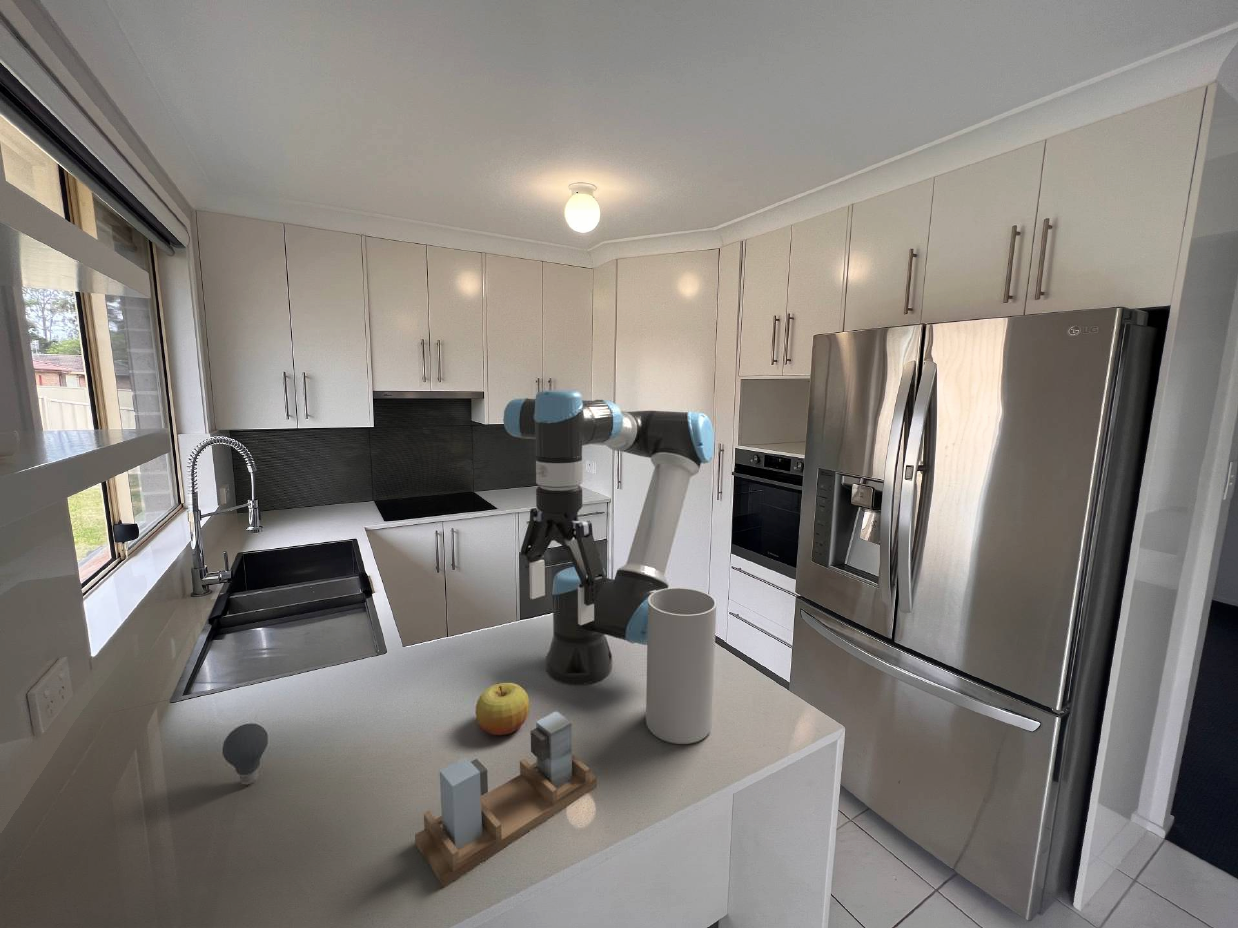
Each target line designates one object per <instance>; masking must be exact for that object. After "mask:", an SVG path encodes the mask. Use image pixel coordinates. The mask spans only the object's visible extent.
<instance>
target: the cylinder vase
mask: <svg viewBox="0 0 1238 928" xmlns="http://www.w3.org/2000/svg"><path fill="white" fill-rule="evenodd" d="M716 625H717V600H716V599H715V597H714V596H712V595H711V594H709V593H707V592H704V591H701V590H698V589H693V588H689V587H668V588H667V589H662V590H658V591H656V592H654V593H652V594H651V595H650V596H649V598H648V629H647V645H646V688H645V689H646V692H645V694H646V697H645V698H646V699H645V700H646V701H645V702H646V703H645V706H646V707H645V708H646V709H645V722H646V726H647V728H648V730H650V732H651V734H653V735H654V736H655V737H657V738H658V739H660V740H662V741H665V742H666V743H669V744H670V743H671V744H676V745H688V744H690V745H691V744H694V743H697V742H700V741H702V740H703V739H705V738H706V737H707V736H708V735H709V734H710V733H711V730H712V725H713V703H714V702H713V700H714V678H715V677H714V675H715V653H716V652H715V651H716V650H715V649H716V628H717V627H716Z"/></svg>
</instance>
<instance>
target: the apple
mask: <svg viewBox="0 0 1238 928" xmlns="http://www.w3.org/2000/svg"><path fill="white" fill-rule="evenodd" d="M529 713H530V699H529V695H528V693H527V692H526V690H525V689H524V688H523V687H521V686H520V684H517V683H514V682H501V683H497V684H494V685H491V686H489V687H488V688H485V690H484V691H483V692H482V693H481V694H480V696H479V698H478V700H477V702H476V705H475V718H476V721H477V723H478V725H479V726H480V729H482V730H484V731H485V732H486V733H488V734H489V735H495V736H505V735H509V734H512V733H513V732H515V731H517V730H519V729H520V728H521V727H522V726H523V725H524V723H525V722H526V720H527V718H528V715H529Z"/></svg>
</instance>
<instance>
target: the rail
mask: <svg viewBox="0 0 1238 928" xmlns="http://www.w3.org/2000/svg"><path fill="white" fill-rule="evenodd" d="M572 724H573V722H572V721H571V720H568V719H567V718H566V717H565V716H563V714H561V713H560V712H558V711H554V712H552V713H551V714H549V715H546V716H544V717H542V718H541V719H538V720H537V721H535V725H536V727H535V728H534V729H532V730H530V752H531V753H532V754H533V755H534V756H535V757H536V762H534V763H532V764H531V763H530V762H529V761H527V760H526V759H525V758H522V759H520V760H519V775H517V776H516V777H514V778H511V779H510V780H508V781H507V782H505V783H503V784H501V785H499V786H498V787H496V788H494V789H493V790H491V791H488V793H486V794H484V795H483V796H481V816H482V836H480V837H479V838H477V839H476V840H474V841H472V842H471V843H469V844H468V845H466V846H464V847H463V848H461V849H460V850H457V848H456V847H455V846H454V844H453V843H452V841H451V840H450V839H449V837H448V836H447V835H446V833H445V832H444V831H443V829H442V815H441V816H439V817H437V818H435V816H434V815H433V814H432V813H431V812H430V810H428V811H426V812H424V813H423V823H424V824H423V827H424V829H422V830H421V831H419V832H417V833H415V834H414V841H415V843H414V844H415V846H416V847H417V849H418V851H419V852H420V854H421V855H422V856H423V858H424V859H425V861H426V862H427V864H428V866H429V867H430V869H431V870H432V872H433V874H434V875H435V877H436V878H437V879H438V881H439V883H440V884H441V885H442V887H443V888H445V887H447V886H449V885H450V884H452V883H453V882H455V881H457V879H459V878H461V877H463V876H464V875H465V874H466V873H469V872H470V871H471V870H473V869H475V868H476V867H477V866H479V865H480V864H482V863H483V862H485V861H486V860H489V858H491V857H493V856H494V855H496V854H497V853H498V852H500V851H502V850H503V849H504V848H506V847H508V846H509V845H511V844H512V843H514V842H515V841H516V840H518V839H519V838H520V839H521V837H522V836H524V835H525V834H527V833H528V832H530V831H532V830H533V829H535V828H537V827H538V826H539V825H541V824H542V823H544V822H545V821H547V820H548V819H550V818H551V817H553V816H554V815H556V814H558V813H559V812H561V811H562V810H564V809H565V808H566V807H568V806H570V805H571V804H572V803H574V802H575V801H577V800H578V799H580V798H581V797H583V796H585V795H586V794H587V793H589V792H591V791H592V790H594V789H595V788H596V787H597V777H595V776H594V775H593V774H592V773H591V772H590V768H589V767H588V766H587V765H586V764H585V763H583V762H582V761H581V760H580V759H579V758H577V757H576V756H575V755H574V754H573V742H572V741H573V739H572V737H573V733H572V732H573V731H572V730H573V729H572V727H573V726H572Z"/></svg>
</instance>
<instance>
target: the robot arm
mask: <svg viewBox="0 0 1238 928" xmlns="http://www.w3.org/2000/svg"><path fill="white" fill-rule="evenodd" d="M502 421H503V425H504V429H505V430H506V432H507V433H508V434H509V435H510V436H512V437H515V438H520V439H525V440H526V439H528V440H529V439H530V440H531V439H532V440H535V474H536V475H535V479H536V481H535V482H536V484H537V485H539V486H537V488H536V489H535V500H536V502H535V504H536V505H535V506H536V507H534V508H531V509H530V510H529V521H528V524H527V528H526V532H525V535H524V539H523V542H522V544H521V547H520V554H521V556H522V557H524V556H525V557H526V558H525V559H526V561H527V562H528V576H529V598H530V600H534V599H537V598H541V597H543V596H546V580H545V579H546V574H545V573H546V569H545V568H546V566H545V560H544V559H545V556H544V554H545V553H546V552H547V549H548V548H549V546H550V545H551V543H552V542H554V541H555V543H557V544H560V545H561V548H562V549H564V550H566V552H567V555H568V557H569V559H570V561H571V563H572V565H573V566H571V567H567V568H565V569H562V570H561V571H558V572H557V573H556V575H554V577H553V579H552V581H553V584H552V592H551V594H552V621H553V622H552V625H553V626H552V627H553V628H552V629H553V630H552V631H553V632H552V633H553V635H552V639H551V642H550V646H549V650H548V652H547V655H546V658H545V670H546V671H545V672H546V673H547V675H548V676H549V677H550V678H552V679H553V680H555V681H556V682H559V683H563V684H566V685H574V686H575V685H588V684H592V683H595V682H598V681H601V680H603V679H604V678H606V677H607V676H609V675H610V673H611V671H612V670H613V654H612V652H611V649H610V645H609V643H608V640H607V637H613V638H616V639H619V640H623V641H627V642H628V643H629V644H638V645H641V646H642V645H643V646H647V629H648V598H649V596H650V595H651V594H652V593H654V592H656V591H658V590H662V589H667V588H669V582H668V581H667V579H666V577H665V573H666V569H667V566H668V562H669V559H670V555H671V552H672V551H671V550H672V547H673V543H674V539H675V537H676V532H677V528H678V525H679V522H680V517H681V515H682V510H683V506H684V504H685V503H684V502H685V499H686V496H687V495H686V494H687V491H688V488H689V484H690V480H691V478H692V477H694V476H696V475H697V474H698V473H699V471H700V469H701V465H702V464H707V463H709V462H711V460H712V459H713V456H714V452H715V451H714V450H715V436H714V428H713V425H712V422H711V419H710V417H708V416H707V415H706V414H705V413H702V412H692V411H688V412H684V411H670V410H669V411H666V410H664V411H663V410H662V411H661V410H638V411H625V410H624V411H623V410H621V409H620V408H619V406H618V405H617V404H616V403H614V402H612V401H611V400H605V399H595V400H583V396H582V393H581V392H580V391H578V390H569V389H568V390H567V389H565V390H564V389H563V390H562V389H561V390H557V389H556V390H555V389H554V390H540V391H538V392H537V393H536V395H535V398H528V397H524V398H514V399H512V400H510V401H509V402H508V403H507V404H506V406H505V408H504V411H503V419H502ZM587 445H596V446H597V445H598V446H605V447H608V448H609V449H610V450H612V451H615V452H622V453H627V454H631V455H634V456H639V457H644V458H649V459H650V462H651V464H652V465H653V467H654V469H653V472H652V475H651V479H650V482H649V485H648V489H647V492H646V496H645V499H644V502H643V504H642V505H643V506H642V510H641V513H640V516H639V519H638V522H637V523H638V524H637V526H636V529H635V533H634V536H633V540H632V544H631V545H630V550H629V553H628V557H627V560H626V563H625V564H624V565H623V566H621V567H619V568H617V570H616V572H615V573H616V574H615V576H614V579H613V578H608V577H606V575H607V572H606V570H605V568H603V565H602V561H601V558H600V555H599V552H598V551H599V550H598V548H597V546H596V542H595V538H594V533H593V524H592V521H591V520H586V521H585V520H584V521H580V520H579V518H578V517H579V516H578V513H579V511H580V510H581V509H582V508H583V487H581V485H582V484H583V482H584V481H583V446H587Z"/></svg>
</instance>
